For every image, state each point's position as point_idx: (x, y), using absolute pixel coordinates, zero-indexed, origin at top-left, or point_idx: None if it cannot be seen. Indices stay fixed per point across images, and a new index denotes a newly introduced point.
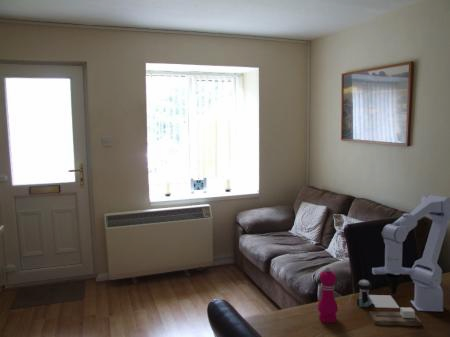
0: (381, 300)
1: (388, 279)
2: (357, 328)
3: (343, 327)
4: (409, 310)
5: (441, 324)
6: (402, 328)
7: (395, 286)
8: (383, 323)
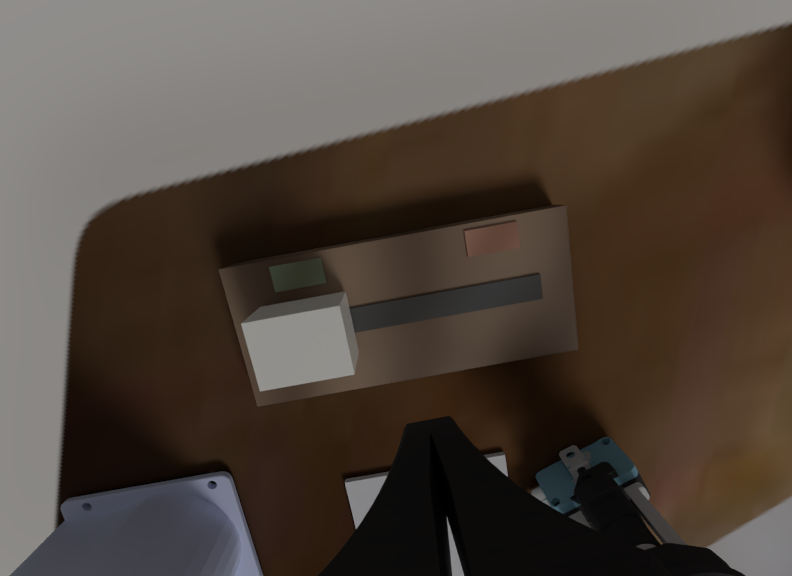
0: (451, 554)
1: (643, 562)
2: (687, 112)
3: (788, 101)
4: (283, 333)
5: (94, 320)
6: (363, 194)
7: (420, 483)
8: (491, 217)
